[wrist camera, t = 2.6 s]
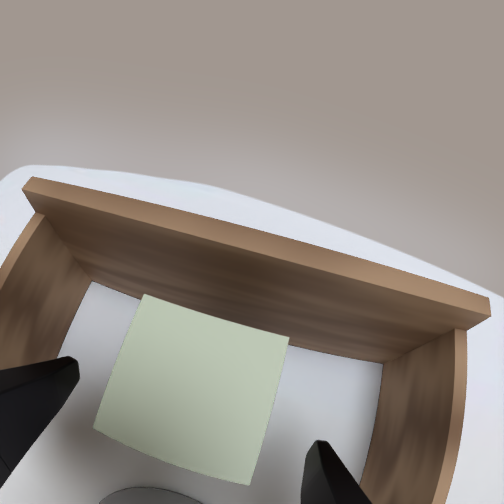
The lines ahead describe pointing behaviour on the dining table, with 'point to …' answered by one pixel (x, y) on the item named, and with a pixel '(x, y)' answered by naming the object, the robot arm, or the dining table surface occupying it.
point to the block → (193, 390)
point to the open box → (257, 311)
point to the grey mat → (147, 497)
